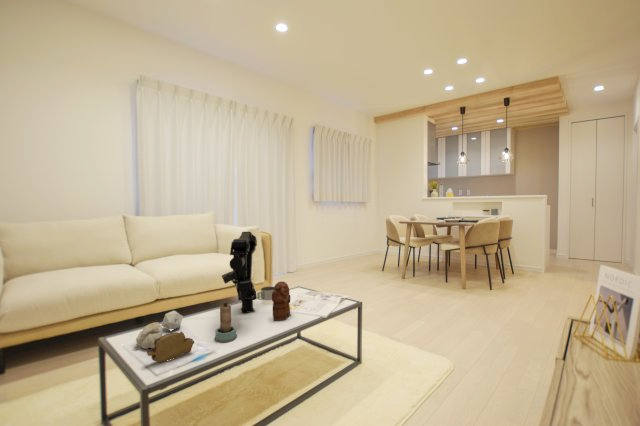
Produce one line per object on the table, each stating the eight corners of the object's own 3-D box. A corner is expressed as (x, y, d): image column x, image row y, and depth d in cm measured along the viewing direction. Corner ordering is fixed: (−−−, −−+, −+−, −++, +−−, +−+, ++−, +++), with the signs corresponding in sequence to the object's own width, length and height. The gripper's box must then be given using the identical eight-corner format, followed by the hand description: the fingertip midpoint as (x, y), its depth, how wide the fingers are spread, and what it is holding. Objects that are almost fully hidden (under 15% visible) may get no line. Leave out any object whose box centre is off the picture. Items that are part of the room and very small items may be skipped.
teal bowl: (213, 335, 140) (213, 327, 140) (235, 332, 144) (234, 324, 143) (215, 344, 131) (215, 335, 131) (238, 340, 135) (238, 331, 135)
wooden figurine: (282, 322, 154) (282, 285, 154) (271, 320, 156) (270, 284, 156) (292, 314, 166) (292, 279, 165) (281, 312, 168) (281, 278, 167)
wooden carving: (190, 349, 127) (189, 324, 127) (195, 353, 124) (194, 327, 124) (145, 365, 116) (144, 337, 115) (149, 369, 112) (148, 341, 112)
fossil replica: (143, 354, 124) (168, 347, 132) (146, 333, 124) (170, 327, 132) (129, 343, 131) (154, 337, 139) (131, 323, 131) (156, 318, 139)
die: (158, 334, 143) (168, 319, 140) (158, 319, 149) (167, 305, 147) (177, 336, 148) (186, 321, 145) (175, 321, 154) (185, 307, 152)
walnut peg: (219, 335, 139) (219, 302, 138) (230, 333, 141) (230, 300, 140) (221, 339, 135) (220, 305, 134) (232, 337, 136) (231, 303, 136)
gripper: (220, 263, 158) (220, 295, 159) (225, 271, 141) (226, 306, 142) (243, 261, 163) (243, 292, 163) (251, 268, 146) (251, 303, 146)
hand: (240, 298), depth 153 cm, fingers open, 9 cm apart
